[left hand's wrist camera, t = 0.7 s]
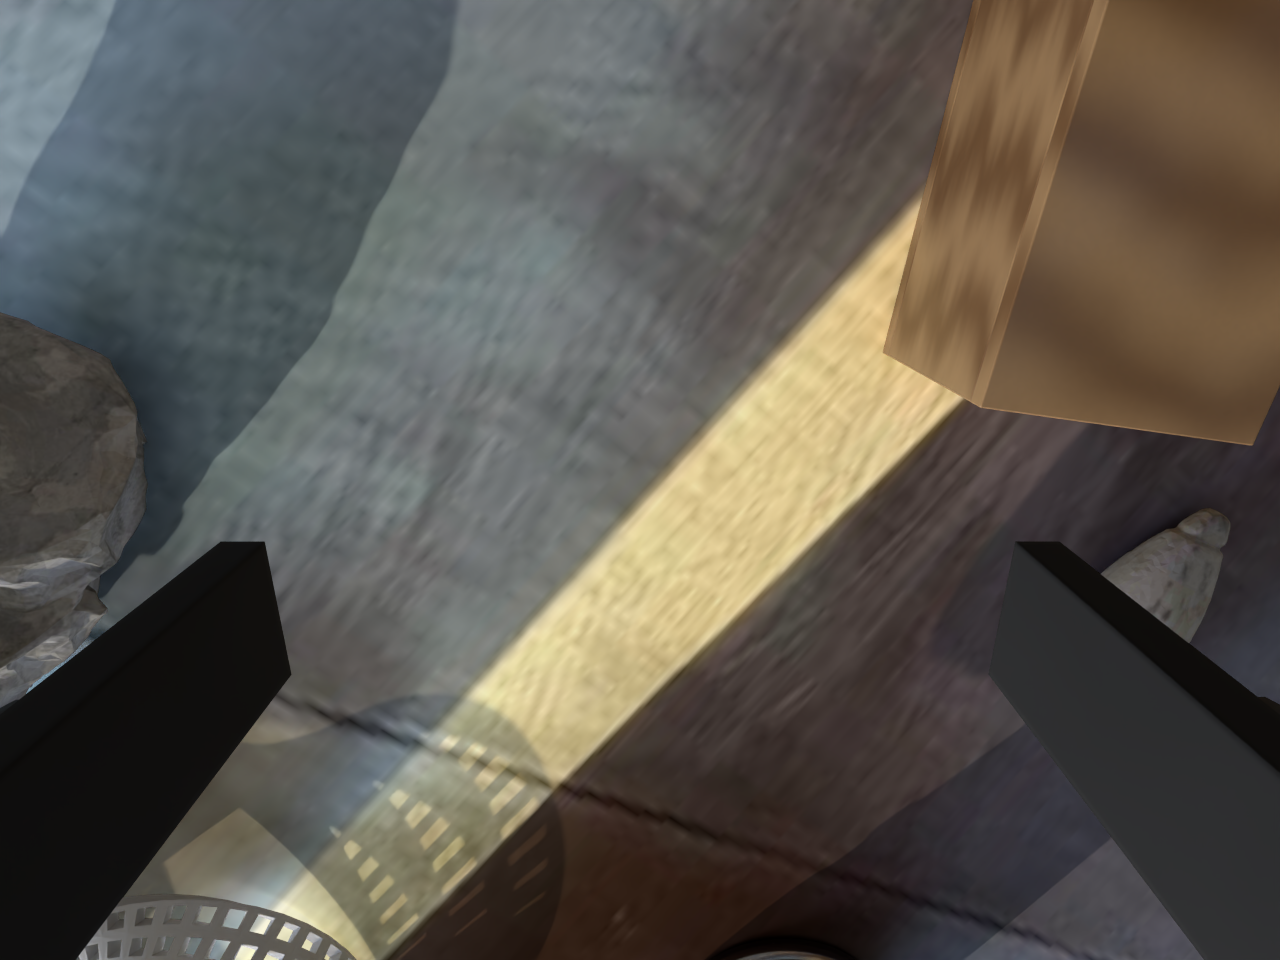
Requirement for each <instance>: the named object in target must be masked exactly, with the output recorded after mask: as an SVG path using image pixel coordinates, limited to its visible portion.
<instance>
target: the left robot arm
mask: <svg viewBox="0 0 1280 960" xmlns="http://www.w3.org/2000/svg"><path fill="white" fill-rule="evenodd" d="M290 676H291V670H290V665H289V660H288V655H287V650H286V645H285V640H284V636H283V631H282V626H281V621H280V616H279V611H278V606H277V601H276V596H275V591H274V586H273V581H272V576H271V571H270V566H269V561H268V556H267V551H266V546H265V542H220V543H218V544H217V545H216V546H215V547H213V548H212V549H211V550H209V551H208V552H207V553H206V554H204V555H203V556H202V557H201V558H199V559H198V560H197V561H195V562H194V563H193V564H192V565H190V566H189V567H188V568H186V569H185V570H184V571H183V572H181V573H180V574H179V575H178V576H176V577H175V578H174V579H172V580H171V581H170V582H169V583H167V584H166V585H165V586H164V587H162V588H161V589H160V590H158V591H157V592H156V593H155V594H153V595H152V596H151V597H149V598H148V599H147V600H146V601H144V602H143V603H142V604H141V605H139V606H138V607H137V608H135V609H134V610H133V611H132V612H130V613H129V614H128V615H127V616H125V617H124V618H123V619H121V620H120V621H119V622H118V623H116V624H115V625H114V626H112V627H111V628H110V629H109V630H107V631H106V632H105V633H104V634H102V635H101V636H100V637H98V638H97V639H96V640H95V641H93V642H92V643H91V644H90V645H88V646H87V647H86V648H84V649H83V650H82V651H81V652H79V653H78V654H77V655H75V656H74V657H73V658H72V659H70V660H69V661H68V662H67V663H65V664H64V665H63V666H61V667H60V668H59V669H58V670H56V671H55V672H54V673H53V674H51V675H50V676H49V677H47V678H46V679H45V680H44V681H42V682H41V683H40V684H38V685H37V686H36V687H35V688H33V689H32V690H31V691H30V692H28V693H27V694H26V695H24V696H23V697H22V698H21V699H19V700H14V701H12V702H10V703H8V704H6V705H5V706H3V707H1V708H0V960H76V959H77V958H78V956H79V955H80V954H81V952H82V951H83V950H84V948H85V947H86V946H87V944H88V943H89V942H90V940H91V939H92V938H93V936H94V935H95V934H96V932H97V931H98V930H99V928H100V927H101V926H102V924H103V923H104V922H105V920H106V919H107V918H108V917H109V915H110V914H111V913H112V911H113V910H114V909H115V907H116V906H117V905H118V903H119V902H120V901H121V899H122V898H123V897H124V895H125V894H126V893H127V891H128V890H129V889H130V887H131V886H132V885H133V883H134V882H135V881H136V879H137V878H138V877H139V875H140V874H141V873H142V872H143V870H144V869H145V868H146V866H147V865H148V864H149V862H150V861H151V860H152V858H153V857H154V856H155V854H156V853H157V852H158V850H159V849H160V848H161V846H162V845H163V844H164V842H165V841H166V840H167V838H168V837H169V836H170V834H171V833H172V832H173V830H174V829H175V828H176V827H177V825H178V824H179V823H180V821H181V820H182V819H183V817H184V816H185V815H186V813H187V812H188V811H189V809H190V808H191V807H192V805H193V804H194V803H195V801H196V800H197V799H198V797H199V796H200V795H201V793H202V792H203V791H204V789H205V788H206V787H207V785H208V784H209V783H210V782H211V780H212V779H213V778H214V776H215V775H216V774H217V772H218V771H219V770H220V768H221V767H222V766H223V764H224V763H225V762H226V760H227V759H228V758H229V756H230V755H231V754H232V752H233V751H234V750H235V748H236V747H237V746H238V744H239V743H240V742H241V741H242V739H243V738H244V737H245V735H246V734H247V733H248V731H249V730H250V729H251V727H252V726H253V725H254V723H255V722H256V721H257V719H258V718H259V717H260V715H261V714H262V713H263V711H264V710H265V709H266V707H267V706H268V705H269V703H270V702H271V701H272V699H273V698H274V697H275V696H276V694H277V693H278V692H279V690H280V689H281V688H282V686H283V685H284V684H285V682H286V681H287V680H288V678H289V677H290ZM989 676H990V677H991V678H992V680H993V681H994V682H995V684H996V685H997V686H998V688H999V689H1000V690H1001V692H1002V693H1003V694H1004V696H1005V697H1006V698H1007V699H1008V701H1009V702H1010V703H1011V705H1012V706H1013V707H1014V709H1015V710H1016V711H1017V713H1018V714H1019V715H1020V717H1021V718H1022V719H1023V721H1024V722H1025V723H1026V725H1027V726H1028V727H1029V729H1030V730H1031V731H1032V733H1033V734H1034V735H1035V737H1036V738H1037V739H1038V741H1039V742H1040V743H1041V744H1042V746H1043V747H1044V748H1045V750H1046V751H1047V752H1048V754H1049V755H1050V756H1051V758H1052V759H1053V760H1054V762H1055V763H1056V764H1057V766H1058V767H1059V768H1060V770H1061V771H1062V772H1063V774H1064V775H1065V776H1066V778H1067V779H1068V780H1069V782H1070V783H1071V784H1072V786H1073V787H1074V788H1075V789H1076V791H1077V792H1078V793H1079V795H1080V796H1081V797H1082V799H1083V800H1084V801H1085V803H1086V804H1087V805H1088V807H1089V808H1090V809H1091V811H1092V812H1093V813H1094V815H1095V816H1096V817H1097V819H1098V820H1099V821H1100V823H1101V824H1102V825H1103V827H1104V828H1105V829H1106V830H1107V832H1108V833H1109V834H1110V836H1111V837H1112V838H1113V840H1114V841H1115V842H1116V844H1117V845H1118V846H1119V848H1120V849H1121V850H1122V852H1123V853H1124V854H1125V856H1126V857H1127V858H1128V860H1129V861H1130V862H1131V864H1132V865H1133V866H1134V868H1135V869H1136V870H1137V872H1138V873H1139V874H1140V875H1141V877H1142V878H1143V879H1144V881H1145V882H1146V883H1147V885H1148V886H1149V887H1150V889H1151V890H1152V891H1153V893H1154V894H1155V895H1156V897H1157V898H1158V899H1159V901H1160V902H1161V903H1162V905H1163V906H1164V907H1165V909H1166V910H1167V911H1168V913H1169V914H1170V915H1171V917H1172V918H1173V919H1174V920H1175V922H1176V923H1177V924H1178V926H1179V927H1180V928H1181V930H1182V931H1183V932H1184V934H1185V935H1186V936H1187V938H1188V939H1189V940H1190V942H1191V943H1192V944H1193V946H1194V947H1195V948H1196V950H1197V951H1198V952H1199V954H1200V955H1201V956H1202V958H1203V959H1204V960H1280V705H1279V704H1278V703H1276V702H1274V701H1272V700H1270V699H1268V698H1266V697H1257V696H1256V695H1254V694H1253V693H1252V692H1250V691H1249V690H1248V689H1247V688H1245V687H1244V686H1243V685H1242V684H1240V683H1239V682H1238V681H1236V680H1235V679H1234V678H1233V677H1231V676H1230V675H1229V674H1227V673H1226V672H1225V671H1224V670H1222V669H1221V668H1220V667H1219V666H1217V665H1216V664H1215V663H1213V662H1212V661H1211V660H1210V659H1208V658H1207V657H1206V656H1205V655H1203V654H1202V653H1201V652H1199V651H1198V650H1197V649H1196V648H1194V647H1193V646H1192V645H1190V644H1189V643H1188V642H1187V641H1185V640H1184V639H1183V638H1182V637H1180V636H1179V635H1178V634H1176V633H1175V632H1174V631H1173V630H1171V629H1170V628H1169V627H1168V626H1166V625H1165V624H1164V623H1162V622H1161V621H1160V620H1159V619H1157V618H1156V617H1155V616H1153V615H1152V614H1151V613H1150V612H1148V611H1147V610H1146V609H1145V608H1143V607H1142V606H1141V605H1139V604H1138V603H1137V602H1136V601H1134V600H1133V599H1132V598H1131V597H1129V596H1128V595H1127V594H1125V593H1124V592H1123V591H1122V590H1120V589H1119V588H1118V587H1116V586H1115V585H1114V584H1113V583H1111V582H1110V581H1109V580H1108V579H1106V578H1105V577H1104V576H1102V575H1101V574H1100V573H1099V572H1097V571H1096V570H1095V569H1094V568H1092V567H1091V566H1090V565H1088V564H1087V563H1086V562H1085V561H1083V560H1082V559H1081V558H1079V557H1078V556H1077V555H1076V554H1074V553H1073V552H1072V551H1071V550H1069V549H1068V548H1067V547H1065V546H1064V545H1063V544H1062V543H1060V542H1015V546H1014V551H1013V556H1012V561H1011V566H1010V571H1009V576H1008V581H1007V586H1006V591H1005V596H1004V601H1003V606H1002V611H1001V616H1000V621H999V626H998V631H997V636H996V640H995V645H994V650H993V655H992V660H991V665H990V670H989ZM710 960H855V959H854V958H852V957H851V956H849V955H848V954H846V953H844V952H842V951H840V950H838V949H836V948H833V947H831V946H828V945H825V944H821V943H817V942H813V941H808V940H800V939H769V940H761V941H756V942H751V943H747V944H743V945H740V946H737V947H734V948H732V949H729V950H727V951H725V952H723V953H721V954H719V955H717V956H715V957H713V958H712V959H710Z"/></svg>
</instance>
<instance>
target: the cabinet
mask: <svg viewBox="0 0 1280 960" xmlns="http://www.w3.org/2000/svg"><path fill="white" fill-rule="evenodd" d="M883 353H884V354H886V355H887V356H890V357H891V358H893V359H895V360H897V361H899V362H900V363H902V364H904V365H906V366H908V367H909V368H911V369H913V370H915V371H916V372H918V373H920V374H922V375H924V376H925V377H927V378H929V379H931V380H933V381H934V382H936V383H938V384H940V385H942V386H943V387H945V388H947V389H949V390H950V391H952V392H954V393H956V394H958V395H959V396H961V397H963V398H965V399H967V400H968V401H970V402H972V403H974V404H975V405H977V406H979V407H981V408H987V409H994V410H1001V411H1008V412H1015V413H1023V414H1030V415H1037V416H1044V417H1051V418H1058V419H1065V420H1073V421H1080V422H1087V423H1094V424H1101V425H1108V426H1115V427H1123V428H1130V429H1137V430H1144V431H1151V432H1158V433H1165V434H1173V435H1180V436H1187V437H1194V438H1201V439H1208V440H1215V441H1223V442H1230V443H1237V444H1244V445H1253V444H1254V442H1255V440H1256V437H1257V435H1258V433H1259V431H1260V429H1261V426H1262V424H1263V422H1264V420H1265V418H1266V415H1267V413H1268V411H1269V409H1270V407H1271V404H1272V402H1273V400H1274V398H1275V396H1276V394H1277V391H1278V389H1279V387H1280V0H973V4H972V8H971V12H970V16H969V20H968V24H967V28H966V32H965V35H964V39H963V43H962V47H961V51H960V55H959V59H958V63H957V66H956V70H955V74H954V78H953V82H952V86H951V90H950V94H949V98H948V101H947V105H946V109H945V113H944V117H943V121H942V125H941V129H940V133H939V136H938V140H937V144H936V148H935V152H934V156H933V160H932V164H931V167H930V171H929V175H928V179H927V183H926V187H925V191H924V195H923V199H922V202H921V206H920V210H919V214H918V218H917V222H916V226H915V230H914V233H913V237H912V241H911V245H910V249H909V253H908V257H907V261H906V265H905V268H904V272H903V276H902V280H901V284H900V288H899V292H898V296H897V299H896V303H895V307H894V311H893V315H892V319H891V323H890V327H889V331H888V334H887V338H886V342H885V346H884V350H883Z"/></svg>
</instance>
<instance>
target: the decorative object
mask: <svg viewBox="0 0 1280 960" xmlns="http://www.w3.org/2000/svg"><path fill="white" fill-rule="evenodd" d="M174 906H187V907H186V910H185V912H184V915H183V918H182V920H178V919H171V915H172V911H173V907H174ZM202 906H209V907H218V908H217V910H216V912H215V914H214V916H213V918H212V920H211V922H210V924H209V923H203V922H197V919H198V916H199V914H200V911H201V908H202ZM149 907H156V909H155V913H154V916H153V918H145V908H149ZM230 909H236V910H242V911H246V914H245V916H244V918H243V920H242V922H241V924H240V926H239V928H238V929H233V928H228V927H224V926H223V924H224V922H225V919H226V917H227V915H228V913H229V910H230ZM121 911H125V917H124V920H119V916H118V912H121ZM257 916H261V917H264V918H266V919H269V920H271V921H270V923H269V925H268V927H267V929H266V931H265V933H264V935H262V934H258V933H254V932H250V931H249V930H250V929H251V927H252V925H253V923H254V922H255V920H256V918H257ZM283 926H285V927H287V928H289V929H291V930H293V932H292V934H291V936H290V938H289V940H288V942H286V941H283V940H280V939H277V936H278V934H279V932H280V931H281V929H282V927H283ZM145 937H148V938H147V941H146V945H145V948H141V947H142V938H145ZM166 937H174V940H173V942H172V944H171V947H170V949H169V951H166V950H163V947H164V943H165V939H166ZM191 937H194V938H202V940H201V942H200V944H199V946H198V948H197V950H196V952H195V954H194V955H191V954H186V953H185V952H186V949H187V947H188V944H189V941H190V938H191ZM306 939H307V940H309V941H310V942H312V943H313V944H312V947H311V949H310V951H308V950H306V949H304V948H301V947H302V945H303V943H304V942H305V940H306ZM121 940H122V943H121ZM216 940H224V941H228V942H230V944H229V946H228V947H227V949H226V951H225V952H224V954H223V956H222V958H221V959H220V960H234V959H235V957H236V955H237V953H238V951H239V949H240V947H241V945H242V946H245V947H248V948H252V949H255V950H256V951H255V953H254V955H253V957H252V959H251V960H264V958H265V956H266V955H267V954H268V955H270V956H272V957H275V958H277V959H279V960H325V959H324V958H325V955H326V954H327V955H328V956H329V957H330V958H329V960H356V959H355V958H354V956H353V955H352V954H351V953H350V952H349V951H348V950H347V949H346V948H344V947H343V946H342V945H341V944H339V943H338V942H337V941H335V940H334V939H333V938H332V937H330V936H329V935H327V934H325V933H323V932H322V931H320V930H318V929H316V928H315V927H313V926H311V925H309V924H307V923H305V922H302V921H300V920H297V919H295V918H292V917H290V916H287V915H285V914H282V913H278V912H275V911H271V910H268V909H264V908H260V907H257V906H251V905H245V904H241V903H237V902H233V901H230V900H224V899H218V898H211V897H205V896H196V895H178V894H159V895H138V896H131V897H123V898H122V899H121V901H120V902H119V903H118V905H117V906H116V907H115V909H114V910H113V911H112V913H111V914H110V915H109V917H108V918H107V919H106V920H105V922H104V923H103V924H102V926H101V927H100V928H99V930H98V931H97V932H96V934H95V935H94V936H93V938H92V939H91V940H90V942H89V943H88V944H87V946H86V947H85V948H84V950H83V951H82V952H81V954H80V955H79V956H78V958H77V959H76V960H214V959H210V958H209V955H210V953H211V951H212V949H213V946H214V944H215V942H216Z"/></svg>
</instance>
